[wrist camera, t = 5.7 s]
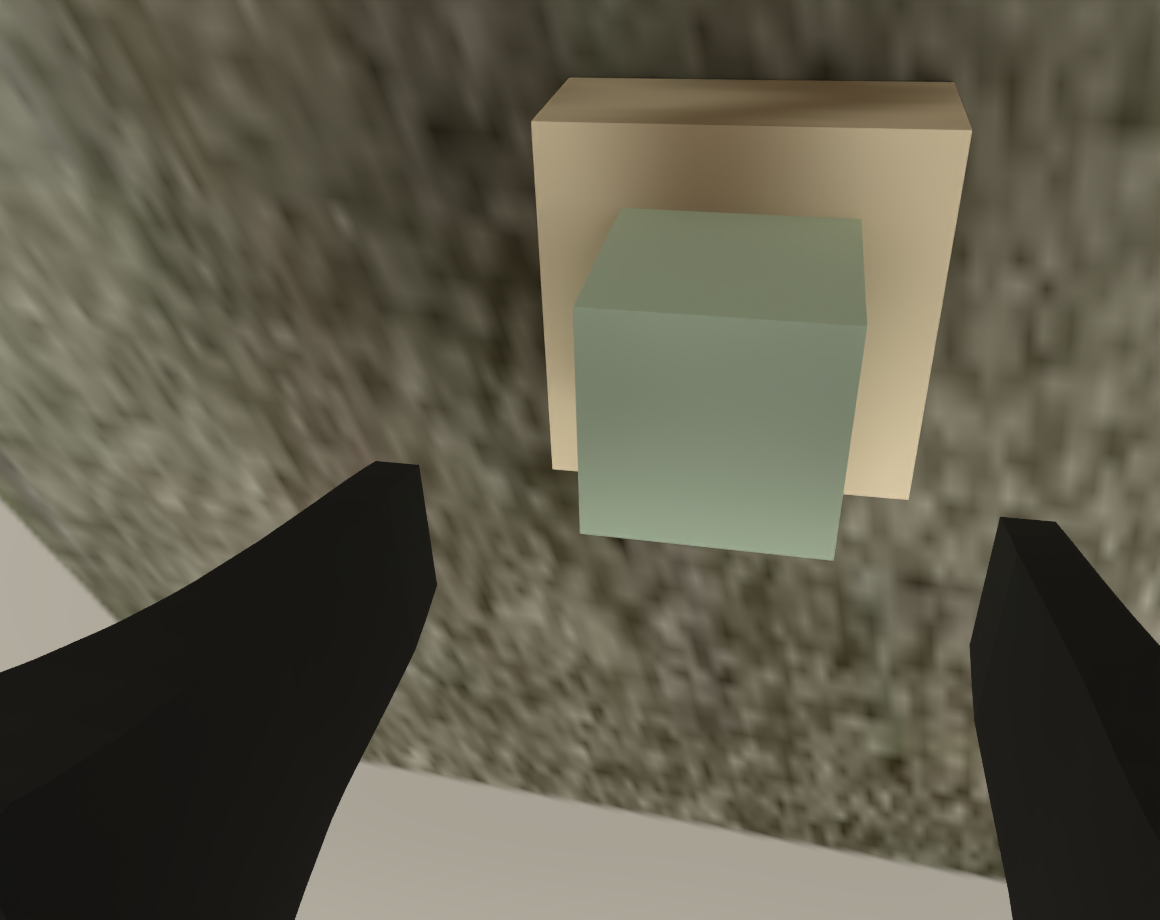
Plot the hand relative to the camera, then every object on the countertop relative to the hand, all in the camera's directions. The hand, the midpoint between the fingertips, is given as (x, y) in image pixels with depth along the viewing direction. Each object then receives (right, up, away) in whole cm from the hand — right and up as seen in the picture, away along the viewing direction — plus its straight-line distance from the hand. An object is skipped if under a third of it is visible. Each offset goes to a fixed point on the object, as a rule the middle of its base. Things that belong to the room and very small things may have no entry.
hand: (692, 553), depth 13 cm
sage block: (+1, +4, +5) cm, 7 cm away
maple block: (+2, +5, +8) cm, 10 cm away
